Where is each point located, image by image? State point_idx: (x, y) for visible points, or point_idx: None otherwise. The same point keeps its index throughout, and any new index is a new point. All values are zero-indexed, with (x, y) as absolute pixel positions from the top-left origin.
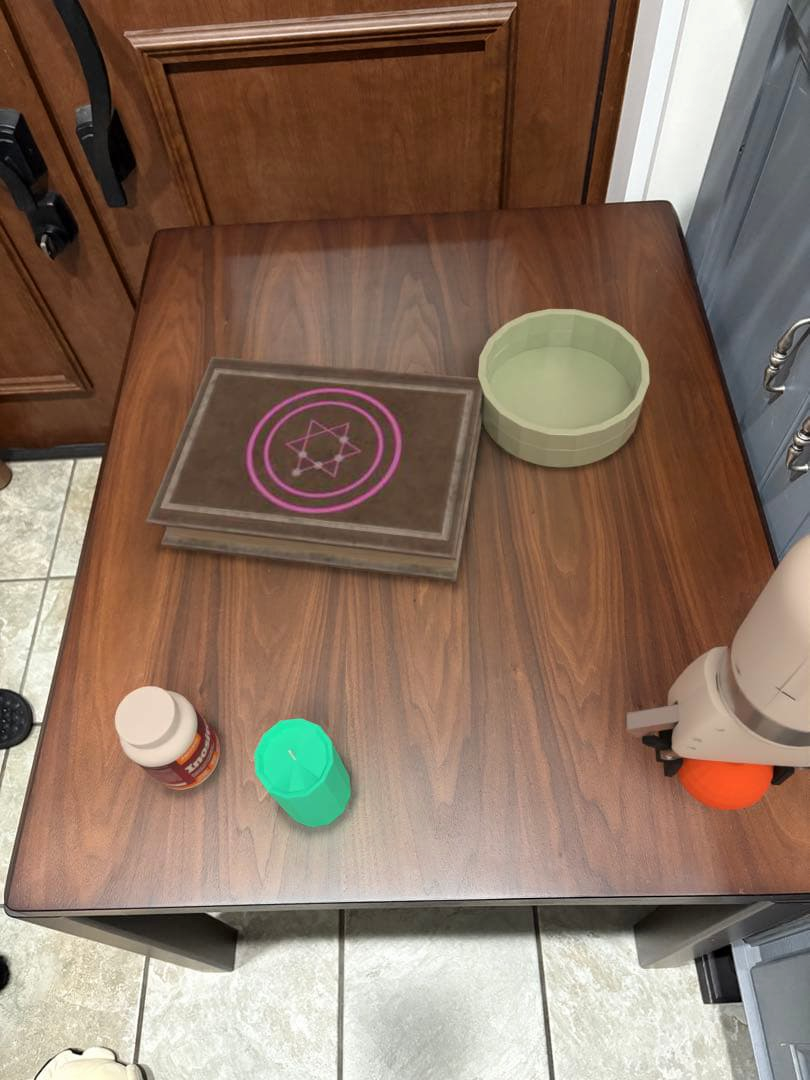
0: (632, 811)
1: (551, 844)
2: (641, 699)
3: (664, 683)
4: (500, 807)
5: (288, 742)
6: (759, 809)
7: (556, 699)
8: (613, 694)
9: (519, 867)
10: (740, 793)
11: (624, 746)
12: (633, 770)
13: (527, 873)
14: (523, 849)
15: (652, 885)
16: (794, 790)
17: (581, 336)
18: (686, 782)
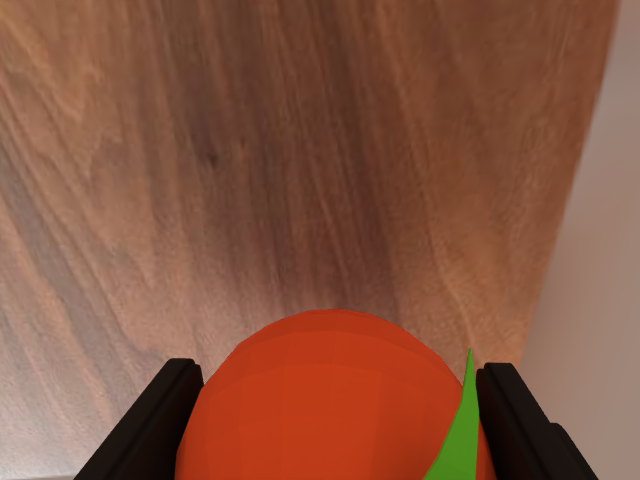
0: (220, 361)
1: (101, 416)
2: (214, 141)
3: (264, 90)
4: (7, 374)
5: None
6: (448, 337)
7: (35, 167)
8: (151, 137)
9: (64, 447)
10: None
11: (191, 251)
12: (214, 294)
13: (78, 453)
14: (62, 426)
15: None
16: (524, 298)
17: None
18: None
